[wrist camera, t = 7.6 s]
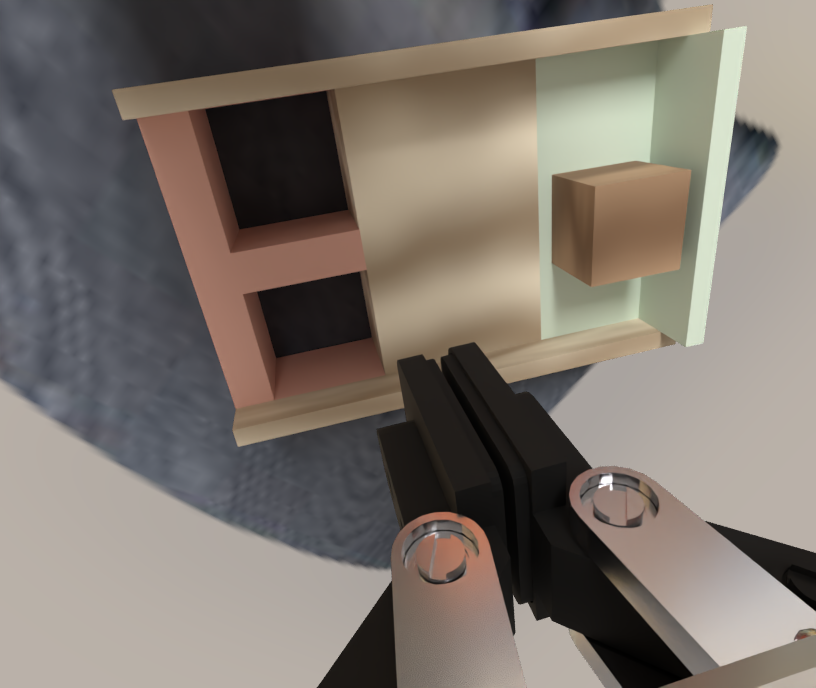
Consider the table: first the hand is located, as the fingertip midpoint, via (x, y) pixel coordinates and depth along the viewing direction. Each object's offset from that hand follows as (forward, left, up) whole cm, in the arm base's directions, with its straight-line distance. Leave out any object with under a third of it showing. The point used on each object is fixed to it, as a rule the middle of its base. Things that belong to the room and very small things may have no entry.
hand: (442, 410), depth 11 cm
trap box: (+1, +4, -20) cm, 21 cm away
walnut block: (+1, +12, -15) cm, 20 cm away
